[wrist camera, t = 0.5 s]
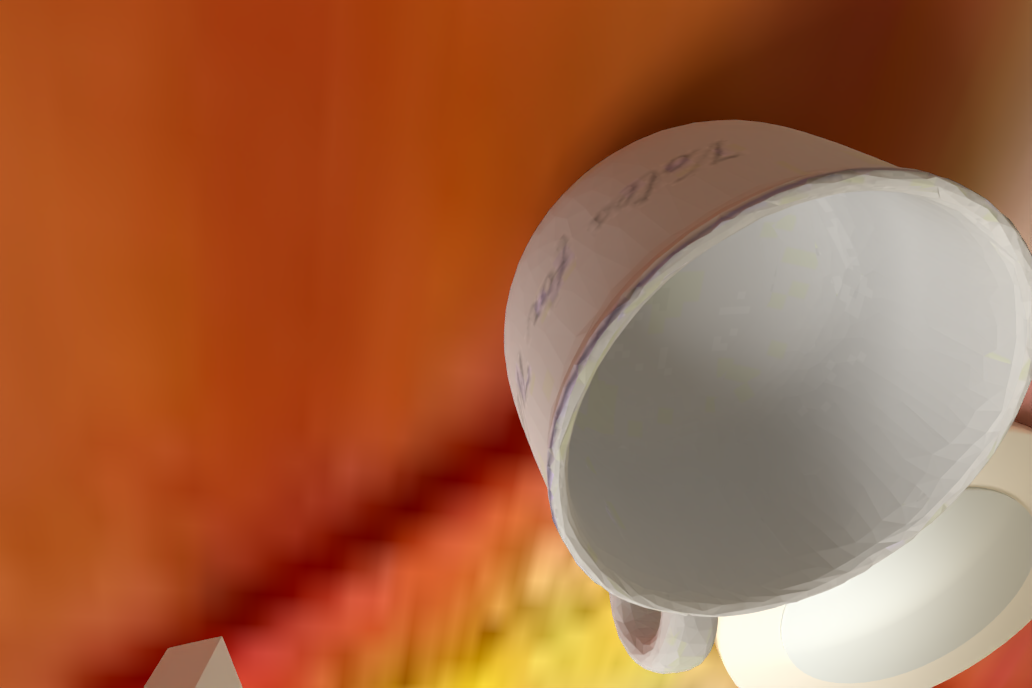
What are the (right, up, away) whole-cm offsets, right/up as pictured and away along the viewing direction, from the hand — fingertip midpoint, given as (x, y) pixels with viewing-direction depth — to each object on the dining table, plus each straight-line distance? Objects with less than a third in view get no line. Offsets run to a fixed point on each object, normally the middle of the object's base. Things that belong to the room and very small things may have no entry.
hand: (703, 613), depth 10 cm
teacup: (+1, +5, +12) cm, 13 cm away
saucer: (+13, -6, +20) cm, 25 cm away
